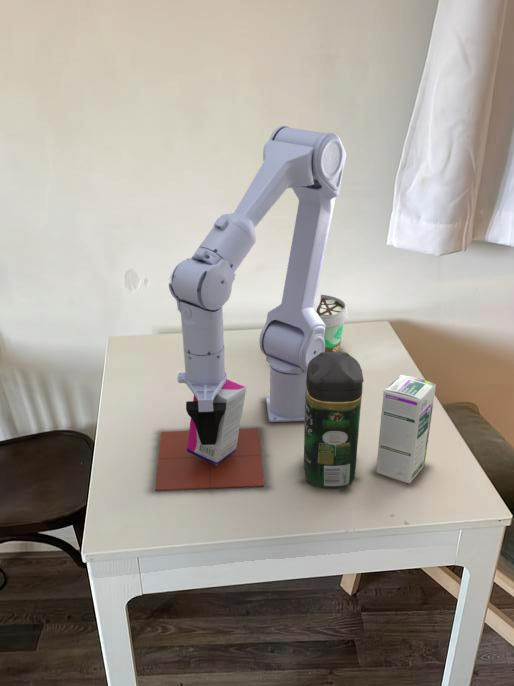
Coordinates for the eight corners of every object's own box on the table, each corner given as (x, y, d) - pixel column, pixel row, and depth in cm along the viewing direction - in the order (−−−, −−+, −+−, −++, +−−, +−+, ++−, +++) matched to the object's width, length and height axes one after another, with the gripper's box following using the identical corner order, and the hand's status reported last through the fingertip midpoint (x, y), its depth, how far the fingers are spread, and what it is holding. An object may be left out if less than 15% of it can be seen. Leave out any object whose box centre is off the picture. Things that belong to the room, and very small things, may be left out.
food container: (341, 369, 134) (344, 320, 128) (309, 366, 135) (311, 317, 129) (348, 342, 144) (351, 295, 138) (318, 339, 145) (321, 293, 139)
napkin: (258, 429, 116) (258, 428, 115) (264, 486, 103) (264, 485, 102) (161, 433, 115) (161, 431, 114) (155, 491, 102) (155, 489, 101)
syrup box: (410, 485, 103) (423, 399, 95) (374, 472, 106) (383, 388, 97) (424, 466, 107) (438, 382, 99) (389, 455, 110) (399, 372, 101)
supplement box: (237, 450, 109) (248, 386, 102) (216, 466, 104) (226, 400, 98) (206, 436, 111) (215, 372, 104) (185, 451, 106) (193, 385, 100)
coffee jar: (302, 454, 110) (305, 346, 99) (352, 455, 110) (361, 346, 99) (303, 491, 102) (307, 377, 91) (357, 491, 102) (367, 378, 91)
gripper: (177, 326, 103) (183, 406, 111) (173, 371, 91) (180, 456, 99) (224, 325, 104) (227, 405, 112) (226, 369, 92) (229, 455, 100)
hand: (208, 429), depth 105 cm, fingers closed on supplement box, 7 cm apart
